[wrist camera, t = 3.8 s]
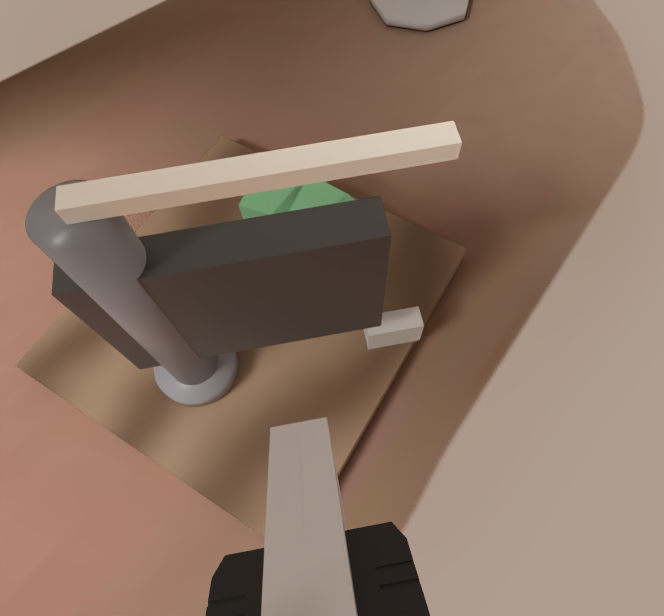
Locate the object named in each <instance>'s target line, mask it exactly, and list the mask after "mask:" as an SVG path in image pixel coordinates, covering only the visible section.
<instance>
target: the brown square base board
mask: <svg viewBox="0 0 664 616" xmlns="http://www.w3.org/2000/svg"><path fill="white" fill-rule="evenodd" d="M254 153H258V152H256V151H254V150H252V149H249V148H247V147H245V146H243V145H241V144H238V143H236V142H234V141H232V140H230V139H227V138H225V137H223V136H221V137H220V138H219V139H218V140H217V141H216V143H215V144H214V145H213V146H212V147H211V148H210V149H209V150H208V151H207V153H206V154H205V155H204V156H203V157H202V158H201V159H200V160H199V161H198V163H200V162H206V161H212V160H218V159H224V158H230V157H236V156H242V155H248V154H254ZM345 193H346V192H345ZM347 194H348V193H347ZM349 195H350V194H349ZM243 196H244V195H241V196H236V197H230V198H224V199H218V200H212V201H206V202H200V203H194V204H188V205H182V206H176V207H170V208H164V209H158V210H155V211H154V212H153V213H152V214H151V215H150V216H149V217H148V218H147V219H146V221H145V222H144V223H143V224H142V225H141V226H140V227H139V228H138V229H137V231H136V232H135V234H136V235H137V236H138V237H141V236H147V235H153V234H159V233H165V232H170V231H176V230H182V229H188V228H194V227H200V226H206V225H212V224H217V223H223V222H229V221H235V220H241V219H243V217H242V214H241V211H240V208H239V203H240V202H241V200H242V198H243ZM350 196H351V197H352V198H353V199H354V200H358V199H359V198H357V197H354V196H352V195H350ZM384 211H385V210H384ZM385 214H386V218H387V222H388V225H389V229H390V232H391V243H390V252H389V261H388V269H387V278H386V287H385V295H384V304H383V312H389V311H395V310H400V309H406V308H411V307H417V306H419V310H420V313H421V317H422V320H423V324H424V326H425V324H426V323H427V321H428V319H429V317H430V316H431V314H432V312H433V310H434V309H435V307H436V305H437V303H438V302H439V300H440V298H441V296H442V295H443V293H444V291H445V289H446V288H447V286H448V284H449V282H450V281H451V279H452V277H453V276H454V274H455V272H456V270H457V269H458V267H459V265H460V263H461V262H462V260H463V258H464V255H465V253H466V250H467V248H466V247H464V246H462V245H459V244H457V243H455V242H453V241H451V240H448V239H446V238H444V237H442V236H440V235H438V234H435V233H433V232H431V231H429V230H427V229H424V228H422V227H420V226H418V225H416V224H413V223H411V222H409V221H407V220H405V219H403V218H400V217H398V216H396V215H394V214H392V213H389V212H387V211H385ZM415 342H416V341H412V342H407V343H401V344H396V345H390V346H385V347H379V348H374V349H368V347H367V342H366V338H365V334H364V329H361V330H356V331H350V332H345V333H339V334H333V335H328V336H322V337H317V338H311V339H306V340H300V341H295V342H289V343H284V344H278V345H273V346H267V347H262V348H256V349H250V350H245V351H239V352H236V354H237V357H238V373H237V376H236V379H235V381H234V383H233V385H232V387H231V388H230V389H229V391H228V392H227V393H226V394H225V395H224V396H223V397H221V398H220V399H218V400H217V401H215V402H213V403H211V404H208V405H205V406H200V407H188V406H184V405H181V404H178V403H176V402H175V401H173V400H172V399H171V398H170V397H168V396H167V395H166V394H165V393H164V392H163V391H162V390H161V389H160V388H159V386H158V384H157V382H156V380H155V376H154V367H151V368H145V369H139V368H138V367H136V366H135V365H134V364H133V363H132V362H130V361H129V360H128V359H127V358H126V357H125V356H123V355H122V354H121V353H120V352H119V351H117V350H116V349H115V348H114V347H113V346H112V345H110V344H109V343H108V342H107V341H106V340H105V339H103V338H102V337H101V336H100V335H99V334H97V333H96V332H95V331H94V330H93V329H92V328H90V327H89V326H88V325H87V324H86V323H85V322H83V321H82V320H81V319H80V318H79V317H77V316H76V315H75V314H74V313H73V312H72V311H70V310H69V309H68V308H67V309H66V310H65V311H64V312H63V313H62V314H61V315H60V316H59V317H58V319H57V320H56V321H55V322H54V323H53V324H52V325H51V326H50V327H49V329H48V330H47V331H46V332H45V333H44V334H43V335H42V336H41V337H40V339H39V340H38V341H37V342H36V343H35V344H34V345H33V346H32V348H31V349H30V350H29V351H28V352H27V353H26V354H25V355H24V356H23V358H22V359H21V360H20V361H19V362H18V363H17V364H16V365H15V366H17V367H18V368H19V369H21V370H22V371H24V372H25V373H27V374H28V375H30V376H31V377H32V378H34V379H35V380H37V381H38V382H40V383H41V384H43V385H44V386H45V387H47V388H48V389H50V390H51V391H53V392H54V393H56V394H57V395H59V396H60V397H61V398H63V399H64V400H66V401H67V402H69V403H70V404H72V405H73V406H74V407H76V408H77V409H79V410H80V411H82V412H83V413H85V414H86V415H87V416H89V417H90V418H92V419H93V420H95V421H96V422H98V423H99V424H101V425H102V426H103V427H105V428H106V429H108V430H109V431H111V432H112V433H114V434H115V435H116V436H118V437H119V438H121V439H122V440H124V441H125V442H127V443H128V444H129V445H131V446H132V447H134V448H135V449H137V450H138V451H140V452H141V453H142V454H144V455H145V456H147V457H148V458H150V459H151V460H153V461H154V462H156V463H157V464H158V465H160V466H161V467H163V468H164V469H166V470H167V471H169V472H170V473H171V474H173V475H174V476H176V477H177V478H179V479H180V480H182V481H183V482H184V483H186V484H187V485H189V486H190V487H192V488H193V489H195V490H196V491H198V492H199V493H200V494H202V495H203V496H205V497H206V498H208V499H209V500H211V501H212V502H213V503H215V504H216V505H218V506H219V507H221V508H222V509H224V510H225V511H226V512H228V513H229V514H231V515H232V516H234V517H235V518H237V519H238V520H239V521H241V522H242V523H244V524H245V525H247V526H248V527H250V528H251V529H253V530H254V531H255V532H257V533H258V534H260V535H261V536H263V537H264V538H265V526H266V506H267V485H268V465H269V445H270V427H276V426H281V425H287V424H292V423H297V422H303V421H308V420H314V419H319V418H324V417H327V422H328V427H329V433H330V438H331V443H332V449H333V454H334V460H335V465H336V471H337V476H338V477H339V475H340V473H341V471H342V470H343V468H344V466H345V464H346V463H347V461H348V459H349V457H350V456H351V454H352V452H353V450H354V449H355V447H356V445H357V443H358V442H359V440H360V438H361V436H362V435H363V433H364V431H365V429H366V428H367V426H368V424H369V422H370V421H371V419H372V417H373V415H374V414H375V412H376V410H377V408H378V407H379V405H380V403H381V401H382V400H383V398H384V396H385V394H386V393H387V391H388V389H389V387H390V386H391V384H392V382H393V380H394V379H395V377H396V375H397V373H398V372H399V370H400V368H401V366H402V365H403V363H404V361H405V359H406V358H407V356H408V354H409V352H410V351H411V349H412V347H413V345H414V344H415Z"/></svg>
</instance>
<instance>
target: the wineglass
mask: <svg viewBox="0 0 664 616" xmlns="http://www.w3.org/2000/svg"><path fill="white" fill-rule="evenodd" d="M370 2H371V3H372V5H373V6H374V8H375V9H376V11H377V12H378V14H379V15H380V17H381V18H382V20H383V21H384V23H385V24H386V25H389V26H395V27H402V28H409V29H415V30H422V31H429V30H432V29H435V28H438V27H442V26H445V25H448V24H451V23H455V22H458V21H461V20H464V17H465V15H466V11H467V7H468V4H469V0H370Z"/></svg>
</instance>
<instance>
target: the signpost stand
mask: <svg viewBox="0 0 664 616" xmlns="http://www.w3.org/2000/svg"><path fill="white" fill-rule="evenodd" d="M461 145H462V141H461V139H460V136H459V133H458V131H457V128H456V126H455V123H454V121H448V122H442V123H436V124H430V125H424V126H418V127H412V128H406V129H400V130H394V131H388V132H382V133H376V134H369V135H363V136H357V137H351V138H345V139H339V140H333V141H327V142H321V143H315V144H309V145H303V146H297V147H291V148H285V149H279V150H273V151H266V152H260V153H254V154H248V155H242V156H236V157H230V158H224V159H218V160H212V161H206V162H200V163H194V164H188V165H182V166H176V167H170V168H164V169H157V170H151V171H145V172H139V173H133V174H127V175H121V176H115V177H109V178H103V179H97V180H91V181H87V180H71V181H66V182H63V183H60V184H57V185H55V186H53V187H51V188H49V189H48V190H46V191H45V192H43V193H42V194H41V195H40V196H39V197H38V198H37V199H36V200H35V201H34V202H33V204H32V205H31V207H30V208H29V211H28V213H27V216H26V221H25V227H26V231H27V234H28V236H29V238H30V239H31V240H32V241H33V242H34V243H35V244H36V245H37V246H38V247H39V248H40V249H41V250H42V251H43V252H44V253H45V254H46V255H47V256H48V257H49V258H50V259H51V260H52V261H53V262H54V271H53V285H52V295H53V296H54V297H55V298H56V299H57V300H59V301H60V302H61V303H62V304H63V305H65V306H66V307H67V308H68V309H69V310H70V311H72V312H73V313H74V314H75V315H76V316H77V317H79V318H80V319H81V320H82V321H83V322H85V323H86V324H87V325H88V326H89V327H90V328H92V329H93V330H94V331H95V332H96V333H97V334H99V335H100V336H101V337H102V338H103V339H105V340H106V341H107V342H108V343H109V344H110V345H112V346H113V347H114V348H115V349H116V350H117V351H119V352H120V353H121V354H122V355H123V356H125V357H126V358H127V359H128V360H129V361H130V362H132V363H133V364H134V365H135V366H136V367H138V368H139V369H145V368H151V367H154V376H155V380H156V382H157V384H158V386H159V388H160V389H161V390H162V391H163V392H164V393H165V394H166V395H167V396H168V397H170V398H171V399H172V400H173V401H175V402H176V403H178V404H181V405H184V406H188V407H200V406H205V405H208V404H211V403H213V402H215V401H217V400H218V399H220V398H221V397H223V396H224V395H225V394H226V393H227V392H228V391H229V389H230V388H231V387H232V385H233V383H234V381H235V379H236V376H237V373H238V357H237V354H236V352H239V351H245V350H250V349H256V348H262V347H267V346H273V345H278V344H284V343H289V342H295V341H300V340H306V339H311V338H317V337H322V336H328V335H333V334H339V333H345V332H350V331H356V330H361V329H367V328H372V327H378V326H381V321H382V313H383V304H384V295H385V287H386V278H387V269H388V261H389V252H390V243H391V232H390V229H389V225H388V222H387V218H386V214H385V211H384V207H383V203H382V200H381V196H376V197H370V198H364V199H358V200H353V201H347V202H341V203H335V204H329V205H323V206H317V207H311V208H306V209H300V210H294V211H288V212H282V213H276V214H270V215H264V216H259V217H253V218H247V219H241V220H235V221H229V222H223V223H217V224H212V225H206V226H200V227H194V228H188V229H182V230H176V231H170V232H165V233H159V234H153V235H147V236H141V237H138V236H137V235H136V234H135V232H134V231H133V229H132V228H131V226H130V225H129V223H128V222H127V220H126V219H125V218H124V216H123V215H129V214H135V213H140V212H146V211H152V210H158V209H164V208H170V207H176V206H182V205H188V204H194V203H200V202H206V201H212V200H218V199H224V198H230V197H236V196H241V195H247V194H253V193H259V192H265V191H271V190H277V189H283V188H289V187H295V186H301V185H307V184H313V183H319V182H325V181H331V180H337V179H343V178H348V177H354V176H360V175H366V174H372V173H378V172H384V171H390V170H396V169H402V168H408V167H414V166H420V165H426V164H432V163H438V162H444V161H449V160H455V159H458V156H459V152H460V149H461Z"/></svg>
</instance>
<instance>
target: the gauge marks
mask: <svg viewBox="0 0 664 616" xmlns="http://www.w3.org/2000/svg"><path fill="white" fill-rule="evenodd" d="M353 200H354V199H353V198H352V197H351V196H350V195H349V194H347V193H345V192H343V191H341V190H339V189H338V188H336V187H334V186H332V185H330V184H328V183H326V182H319V183H313V184H307V185H301V186H295V187H289V188H283V189H277V190H271V191H265V192H259V193H253V194H247V195H244V196H243V198H242V200H241V202H240V203H239V208H240V211H241V214H242V217H243V219H247V218H253V217H259V216H264V215H270V214H276V213H282V212H288V211H294V210H300V209H306V208H311V207H317V206H323V205H329V204H335V203H341V202H347V201H353ZM423 328H424V324H423V320H422V317H421V313H420V310H419V306H417V307H411V308H406V309H400V310H395V311H389V312H383V313H382V321H381V326H378V327H372V328H367V329H364V334H365V338H366V342H367V347H368V349H374V348H379V347H385V346H390V345H396V344H401V343H407V342H412V341H418V340H420V338H421V335H422V331H423Z"/></svg>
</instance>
